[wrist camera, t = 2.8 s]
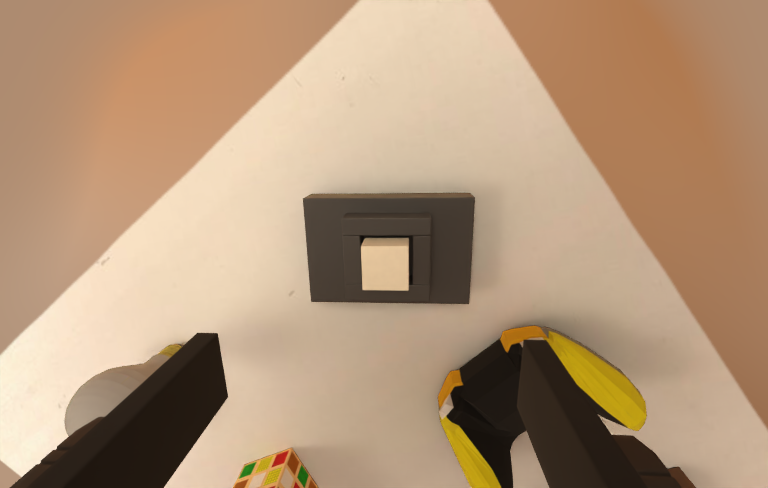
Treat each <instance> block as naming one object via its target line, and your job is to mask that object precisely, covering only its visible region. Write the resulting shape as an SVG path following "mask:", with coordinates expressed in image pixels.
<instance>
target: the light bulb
mask: <svg viewBox="0 0 768 488" xmlns="http://www.w3.org/2000/svg"><path fill="white" fill-rule="evenodd" d="M180 348H182V346H180V345H176V344H174V345H169V346H168V347H166V348H165V349H164V350H162V351H161V352H160V353H159V354H157V355H155V356H153V357H152V358H151V359H150V360H148V361H147V362H146V363H144V364H138V365H130V366H122V367H117V368H112V369H108V370H106V371H104V372H102V373H100V374H98V375H95V376H94V377H92V378H91V379H90V380H88V381H87V382H86V383H85V384H83V385H82V386H81V387H80V388H79V389H78V390H77V392H76V393H75V395H74V396H73V397H72V399H71V401H70V403H69V405H68V407H67V409H66V414H65V428H66V432H67V434H68V436H70V435H71V434H72V433H74V432H75V431H76V430H77V429H79V428H81V427H82V426H84V425H86V424H87V423H89V422H91V421H92V420H94V419H96V418H97V417H105V416H106V415H107V414H109V413H110V412H111V411H112V410H113V409H114V408H115V407H116V406H117V405H118V404H120V403H121V402H122V401H123V400H124V399H125V398H126V397H127V396H128V395H130V394H131V393H132V392H133V391H134V390H135V389H136V388H137V387H138V386H139V385H141V384H142V383H143V382H144V381H145V380H146V379H147V378H148V377H149V376H151V375H152V374H153V373H154V372H155V371H156V370H157V369H158V368H159V367H160V366H162V365H163V364H164V363H165V362H166V361H167V360H168V359H169V358H170V357H172V356H173V355H174V354H175V353H176V352H177V351H178V350H179V349H180Z"/></svg>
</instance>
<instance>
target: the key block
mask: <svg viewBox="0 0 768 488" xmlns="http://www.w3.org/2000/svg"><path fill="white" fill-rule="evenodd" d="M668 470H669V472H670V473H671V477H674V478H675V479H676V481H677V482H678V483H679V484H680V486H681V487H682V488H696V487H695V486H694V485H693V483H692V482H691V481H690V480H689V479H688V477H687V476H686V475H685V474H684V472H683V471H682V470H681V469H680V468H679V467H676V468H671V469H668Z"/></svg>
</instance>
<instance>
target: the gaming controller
mask: <svg viewBox="0 0 768 488" xmlns="http://www.w3.org/2000/svg"><path fill="white" fill-rule="evenodd" d="M523 340H547V342H548V343H549V344H550V346H551V347H552V349H553V350H554V352H555V353H556V355H557V356H558V358H559V359H560V360H561V362H562V363H563V365H564V366H565V368H566V369H567V371H568V372H569V374H570V375H571V377H572V378H573V379H574V381H575V382H576V384H577V385H578V387H579V388H580V390H581V391H582V393H583V394H584V395H585V397H586V398H587V400H588V401H589V403H590V404H591V406H592V407H593V409H594V410H595V412H596V413H597V414H598V415H600V416H602V417H604V418H606V419H608V420H611V421H613V422H615V423H618V424H620V425H622V426H625V427H627V428H629V429H632V430H635V431H639V430H640V429H641V428H642V426H643V425H644V423H645V420H646V416H647V414H646V404H645V401H644V399H643V397H642V395H641V394H640V392H639V391H638V389H637V388H636V387H635V386H634V385H633V384H632V383H631V382H630V380H629V379H628V378H627V377H626V376H625V375H624V374H623V372H622V371H621V370H620V369H618V368H617V367H615V366H614V365H612V364H611V363H609V362H608V361H607V360H605V359H604V358H602V357H601V356H599V355H598V354H596V353H595V352H593V351H592V350H590V349H589V348H588V347H586V346H585V345H583V344H582V343H580V342H578V341H576V340H574V339H572V338H570V337H568V336H566V335H564V334H562V333H560V332H558V331H556V330H554V329H551V328H548V327H543V328H541V327H538V326H528V327H522V328H515V329H510V330H506V331H503V333H502V336H501V338H500V339H499V340H497V341H496V342H495V343H493V344H492V345H491V346H489V347H488V348H487V349H485V350H484V351H483V352H481V353H480V354H479V355H477V356H476V357H475V358H473V359H472V360H471V361H469V362H468V363H467V364H465V365H464V366H463V367H461V368H460V369H459V370H455V371H450V373H449V374H448V376H447V377H446V380H445V382H444V384H443V387H442V389H441V391H440V393H439V396H438V402H439V412H438V413H439V417H440V422H441V425H442V427H443V429H444V431H445V433H446V435H447V438H448V440H449V442H450V444H451V446H452V448H453V451H454V453H455V455H456V457H457V459H458V461H459V463H460V465H461V468H462V470H463V472H464V474H465V476H466V478H467V480H468V482H469V485H470V486H471V487H472V488H513V476H512V466H511V456H510V450H511V446H512V443H513V441H514V440H515V439H516V438H517V437H518V435H520V434H521V433H523V432H524V431H526V428H525V426H524V423H523V421H522V418H521V416H520V413H519V411H518V408H517V400H518V390H519V380H520V370H521V360H522V350H523Z"/></svg>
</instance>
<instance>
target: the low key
mask: <svg viewBox="0 0 768 488" xmlns="http://www.w3.org/2000/svg"><path fill="white" fill-rule="evenodd" d="M361 263H362V289H363V290H398V291H408V290H409V238H365V239H364V241H363V243H362V245H361Z"/></svg>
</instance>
